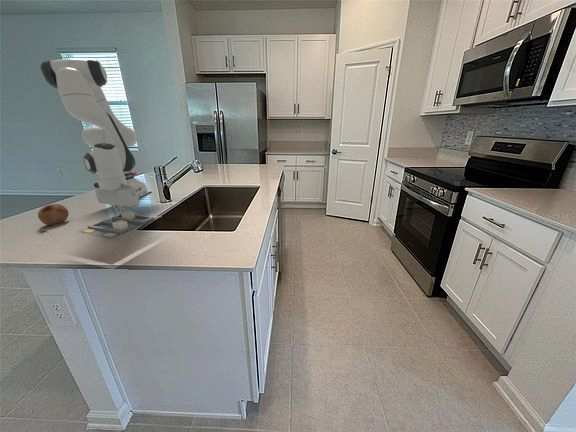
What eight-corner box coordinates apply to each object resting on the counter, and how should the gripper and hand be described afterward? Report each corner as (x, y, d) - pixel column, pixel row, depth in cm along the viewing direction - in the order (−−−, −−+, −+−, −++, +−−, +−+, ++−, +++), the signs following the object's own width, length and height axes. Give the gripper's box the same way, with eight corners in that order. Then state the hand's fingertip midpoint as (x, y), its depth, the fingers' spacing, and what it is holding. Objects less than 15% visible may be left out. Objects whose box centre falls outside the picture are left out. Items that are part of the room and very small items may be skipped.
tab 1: (120, 227, 98) (118, 219, 96) (128, 228, 97) (126, 220, 95) (113, 230, 95) (111, 221, 94) (121, 231, 94) (119, 223, 93)
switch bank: (131, 214, 115) (130, 209, 114) (162, 218, 110) (161, 214, 110) (78, 234, 94) (76, 229, 93) (113, 241, 89) (111, 235, 88)
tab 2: (128, 216, 109) (126, 209, 107) (135, 217, 108) (133, 210, 106) (122, 219, 106) (120, 211, 105) (129, 220, 105) (127, 212, 104)
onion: (58, 233, 102) (45, 217, 95) (39, 225, 103) (25, 209, 96) (78, 218, 108) (67, 202, 101) (60, 211, 109) (49, 195, 102)
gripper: (139, 184, 102) (146, 214, 107) (103, 180, 108) (111, 209, 112) (126, 187, 96) (133, 219, 101) (89, 183, 102) (97, 214, 107)
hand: (121, 214), depth 107 cm, fingers closed
